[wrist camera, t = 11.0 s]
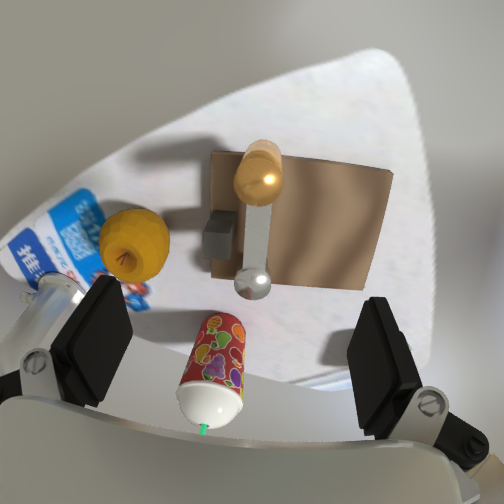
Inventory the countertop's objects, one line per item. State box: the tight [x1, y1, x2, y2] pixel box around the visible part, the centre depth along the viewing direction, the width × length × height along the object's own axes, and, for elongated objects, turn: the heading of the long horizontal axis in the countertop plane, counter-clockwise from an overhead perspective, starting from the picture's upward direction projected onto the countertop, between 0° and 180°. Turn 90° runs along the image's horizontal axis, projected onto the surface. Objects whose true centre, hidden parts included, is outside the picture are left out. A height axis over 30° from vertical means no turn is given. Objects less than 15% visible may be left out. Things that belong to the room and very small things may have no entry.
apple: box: [98, 209, 170, 283], centre depth 34 cm, size 9×8×9 cm
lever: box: [233, 140, 283, 300], centre depth 27 cm, size 18×4×10 cm, turn 176°
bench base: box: [203, 151, 394, 291], centre depth 33 cm, size 20×16×7 cm
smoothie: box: [176, 313, 246, 435], centre depth 37 cm, size 8×8×20 cm
